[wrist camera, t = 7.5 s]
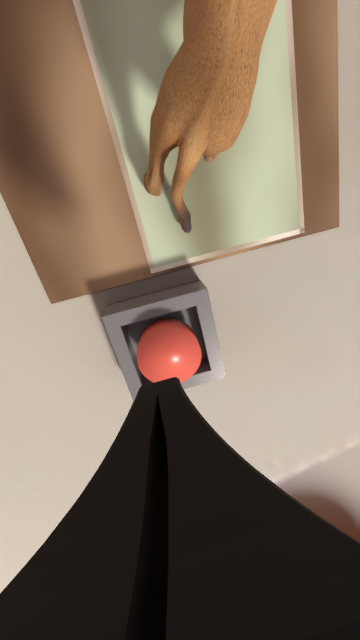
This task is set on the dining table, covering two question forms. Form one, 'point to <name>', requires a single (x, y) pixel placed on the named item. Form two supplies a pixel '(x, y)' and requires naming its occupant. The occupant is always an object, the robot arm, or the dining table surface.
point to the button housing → (176, 303)
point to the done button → (168, 350)
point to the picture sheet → (133, 141)
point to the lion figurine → (206, 90)
